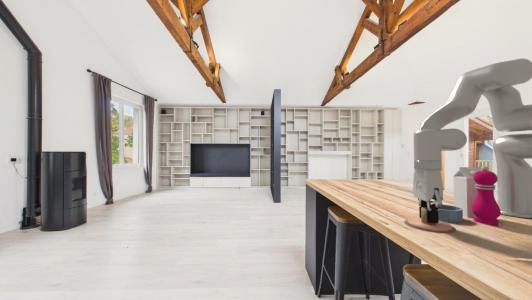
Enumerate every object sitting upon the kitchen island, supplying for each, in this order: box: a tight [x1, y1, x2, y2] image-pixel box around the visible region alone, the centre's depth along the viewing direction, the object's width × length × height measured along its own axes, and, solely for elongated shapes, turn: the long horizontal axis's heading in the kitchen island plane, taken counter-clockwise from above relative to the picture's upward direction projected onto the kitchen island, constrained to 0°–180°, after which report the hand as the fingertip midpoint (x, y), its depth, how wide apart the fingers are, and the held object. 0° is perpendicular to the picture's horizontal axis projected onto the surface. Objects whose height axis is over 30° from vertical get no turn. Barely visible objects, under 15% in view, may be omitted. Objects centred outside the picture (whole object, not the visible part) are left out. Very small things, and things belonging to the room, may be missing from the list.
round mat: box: [403, 219, 457, 234], centre depth 73 cm, size 14×14×1 cm
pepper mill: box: [472, 165, 502, 227], centre depth 76 cm, size 7×7×20 cm
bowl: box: [431, 203, 464, 224], centre depth 81 cm, size 10×10×4 cm
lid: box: [406, 206, 453, 232], centre depth 73 cm, size 12×12×6 cm
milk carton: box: [453, 166, 482, 219], centre depth 84 cm, size 7×7×19 cm
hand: (428, 219), depth 73 cm, fingers closed on lid, 4 cm apart
